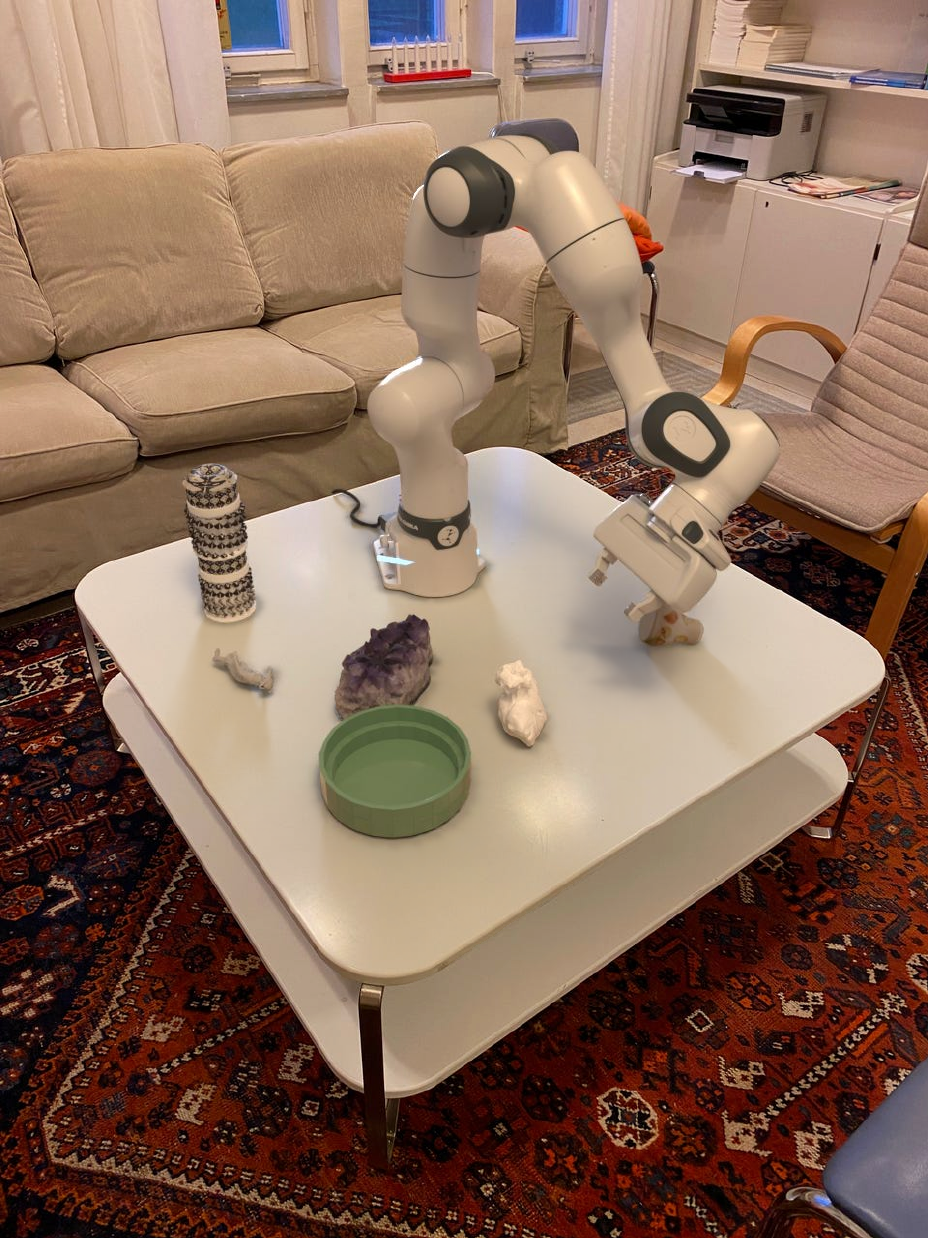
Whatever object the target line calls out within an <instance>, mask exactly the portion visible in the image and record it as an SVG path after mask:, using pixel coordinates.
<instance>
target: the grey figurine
mask: <svg viewBox="0 0 928 1238" xmlns="http://www.w3.org/2000/svg"><path fill="white" fill-rule="evenodd" d="M220 653H221V649H220V647H216V648H215V650H214V656H212V659H211V660H212V662H213V663H214V662H218V663H220V664H223V665H224V666H225V667H226V666H227V668H228V670H229V672H230V675H232V677H233V678H234V680H235V681H237V682H238V683H240V684H249V685H253V686H255V687H258V689H259V690H261V689H263V690H266V691H268V693H271V692H272V691H273V690H274V687H275V686H274V683H275V676H274V675H275V674H274V673H273V668H272V667H271V666H270V665H268V666H267V668H268V669H267V673H266V674H265V675H264V674H263V673H261V672H259V671H258V670H255V669H252V668H250V667H249V665H248V664H247V663H246V662H245V661H243V660H239V659H238V658H239V656H238V653H237V651H236V650H235V651H232V652H230V653H228V655H226V656H221V654H220Z"/></svg>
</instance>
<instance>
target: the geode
mask: <svg viewBox="0 0 928 1238" xmlns="http://www.w3.org/2000/svg"><path fill="white" fill-rule="evenodd" d="M430 630H431V628H430V625H429V621H428V620H427V619H426V618H422V619H421V618H420V617H419V616H417V615H416V614H414V613H413V614H410V613H409V614H408V615H407V617H406V618H405V620H402V621H399V622H398V621H391V622H389V623H388V624H387V625H386V627H383V628H379V629H378V630H377V629H376V628H374V627H372V628H370V632H369V633H370V638H369V641H367V640H366V641H365V642H364V644H363V645H361V646H360V647H358V648H357V649H356V650H354V651H352V652H351V653H350V654H346V656H345V657H344V659H343V660H342V662H341V666H342V668H343V669H342V670H341V672H340V678H339V683H338V686H337V687H336V689H335V690H334V701H335V710H336V712H337V713H338V714H339V715H340V717H341V719H342V721H343V720H344V719H346V718H348V717H350V716H352V715H354V714H356V713H358V712H360V711H363V710H366V709H370V708H374V707H378V706H385V705H396V704H399V705H412V703H414V702H415V701H417V700H418V699H419V696H420V695H421V694H422V693H423V691H425V690H426V689H427V688H428V687H429V686H430V684H431V681H432V679H431V678H432V677H431V674H430V668H429V667H430V665H431V664H432V663H433V660H434V653H433V648H432V644H431V634H430Z"/></svg>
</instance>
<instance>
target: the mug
mask: <svg viewBox="0 0 928 1238" xmlns="http://www.w3.org/2000/svg"><path fill="white" fill-rule="evenodd" d="M704 631H705V627H704V624H703V623H702V621H701V620H700V619H697V618H693V617H691V616H688V615H686V614H685V613H682V614H679V613H677V612H676V611H675V610H673V609H672V608H671V607H670V606H669V605H668V604H667V603H666V602H665V603H664V604H663V605H662V606H661V607H660V608H659V609H657V610H655V611H652V612H649V613H647V614H644V615H643V616H642V617H641V618H640V620H639V622H638V638H639V640H640V641H641V642H643V643H644V644H648V645H651V646H663V645H668V644H669V645H670V644H674V643H686V644H690V645H691V644H692V645H695V644H697V643H699V642H700V641H701V640H702V638H703V635H704Z"/></svg>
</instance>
